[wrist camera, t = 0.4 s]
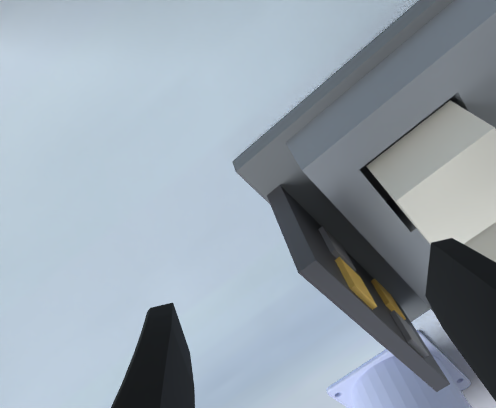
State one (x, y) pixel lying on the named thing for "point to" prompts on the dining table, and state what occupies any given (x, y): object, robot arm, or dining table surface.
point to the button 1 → (443, 174)
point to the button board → (359, 176)
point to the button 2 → (485, 242)
